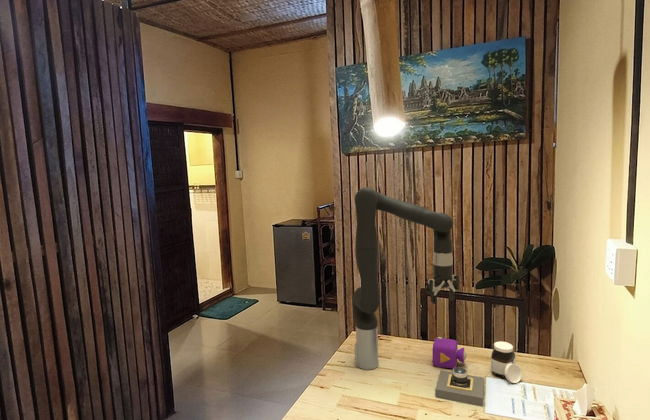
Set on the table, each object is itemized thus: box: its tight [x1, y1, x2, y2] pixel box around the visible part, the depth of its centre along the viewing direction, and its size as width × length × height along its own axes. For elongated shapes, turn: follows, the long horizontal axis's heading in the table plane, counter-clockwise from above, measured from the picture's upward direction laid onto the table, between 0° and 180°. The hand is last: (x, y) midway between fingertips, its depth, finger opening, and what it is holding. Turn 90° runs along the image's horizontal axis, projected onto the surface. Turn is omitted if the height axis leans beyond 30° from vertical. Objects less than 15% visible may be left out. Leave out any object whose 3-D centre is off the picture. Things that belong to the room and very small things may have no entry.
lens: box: [451, 366, 469, 389], centre depth 146 cm, size 5×5×8 cm
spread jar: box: [490, 341, 523, 384], centre depth 155 cm, size 12×11×12 cm
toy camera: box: [432, 336, 468, 370], centre depth 166 cm, size 11×14×10 cm
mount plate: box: [434, 370, 485, 407], centre depth 146 cm, size 16×14×4 cm
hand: (442, 301), depth 160 cm, fingers open, 8 cm apart
